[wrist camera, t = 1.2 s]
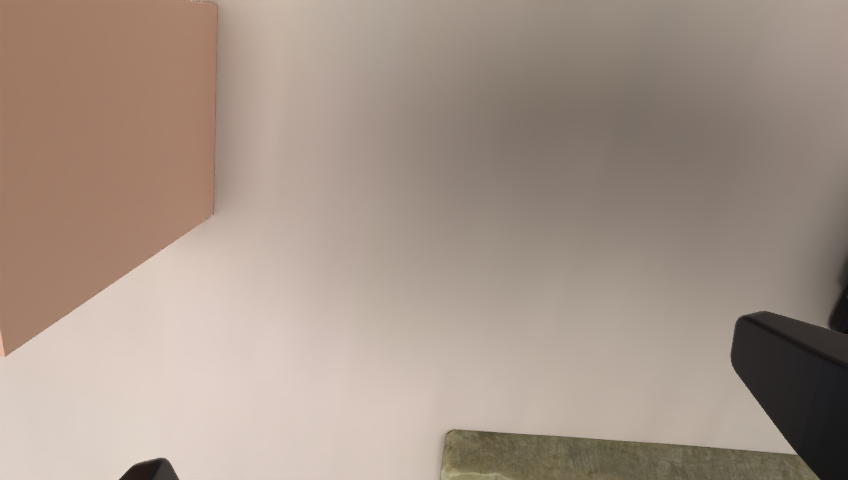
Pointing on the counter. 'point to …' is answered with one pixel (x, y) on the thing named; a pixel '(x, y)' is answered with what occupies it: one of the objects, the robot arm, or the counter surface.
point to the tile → (98, 146)
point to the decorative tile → (605, 460)
